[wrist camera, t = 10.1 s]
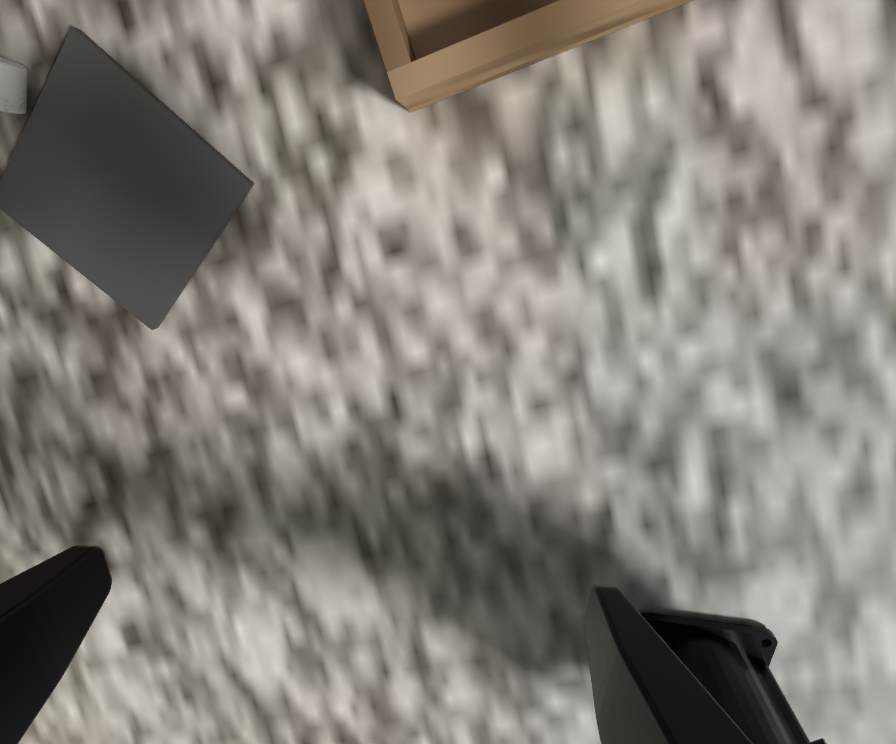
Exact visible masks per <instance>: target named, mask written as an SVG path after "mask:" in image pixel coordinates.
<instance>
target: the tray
mask: <svg viewBox="0 0 896 744" xmlns="http://www.w3.org/2000/svg"><path fill="white" fill-rule="evenodd" d="M690 1H693V0H364V3H365V6H366V9H367V12H368V15H369V19H370V22H371V25H372V28H373V31H374V34H375V37H376V40H377V43H378V46H379V49H380V53H381V56H382V59H383V62H384V65H385V68H386V71H387V74H388V77H389V80H390V84H391V87H392V90H393V93H394V96H395V99H396V100H397V101H398V102H399V103H400V104H401V105H402V106H404V107H405V108H406V109H407V110H408V111H409V112H413V111H415V110H418V109H421V108H423V107H426V106H428V105H431V104H433V103H436V102H438V101H441V100H443V99H446V98H448V97H451V96H453V95H456V94H458V93H461V92H463V91H466V90H468V89H471V88H473V87H476V86H479V85H481V84H484V83H486V82H489V81H491V80H494V79H496V78H499V77H501V76H504V75H506V74H509V73H511V72H514V71H516V70H519V69H521V68H524V67H526V66H529V65H531V64H534V63H537V62H539V61H542V60H544V59H547V58H549V57H552V56H554V55H557V54H559V53H562V52H564V51H567V50H569V49H572V48H574V47H577V46H579V45H582V44H584V43H587V42H589V41H592V40H595V39H597V38H600V37H602V36H605V35H607V34H610V33H612V32H615V31H617V30H620V29H622V28H625V27H627V26H630V25H632V24H635V23H637V22H640V21H642V20H645V19H647V18H650V17H653V16H655V15H658V14H660V13H663V12H665V11H668V10H670V9H673V8H675V7H678V6H680V5H683V4H685V3H688V2H690Z"/></svg>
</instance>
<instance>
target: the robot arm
mask: <svg viewBox="0 0 896 744" xmlns="http://www.w3.org/2000/svg"><path fill="white" fill-rule="evenodd" d="M111 585H112V578H111V574H110V571H109V567H108V564H107V561H106V557H105V554H104V551H103V550H102V549H101V548H100V547H98V546H89V545H76V546H73V547H71V548H69V549H67V550H65V551H63V552H61V553H59V554H57V555H55V556H53V557H51V558H50V559H48V560H46V561H44V562H42V563H40V564H38V565H36V566H34V567H32V568H30V569H28V570H26V571H24V572H22V573H20V574H19V575H17V576H15V577H13V578H11V579H9V580H7V581H5V582H3V583H1V584H0V744H18V743H19V741H20V740H21V738H22V737H23V735H24V734H25V732H26V731H27V729H28V728H29V726H30V725H31V723H32V722H33V720H34V719H35V717H36V716H37V714H38V713H39V711H40V710H41V708H42V707H43V705H44V704H45V702H46V701H47V699H48V698H49V696H50V695H51V693H52V692H53V690H54V689H55V687H56V686H57V684H58V683H59V681H60V679H61V678H62V676H63V675H64V673H65V671H66V669H67V668H68V666H69V664H70V663H71V661H72V659H73V657H74V655H75V654H76V652H77V650H78V648H79V646H80V645H81V643H82V641H83V639H84V637H85V636H86V634H87V632H88V630H89V628H90V627H91V625H92V623H93V621H94V619H95V617H96V616H97V614H98V612H99V610H100V608H101V607H102V605H103V603H104V601H105V599H106V598H107V596H108V594H109V592H110V589H111ZM585 634H586V642H587V650H588V658H589V666H590V674H591V681H592V689H593V697H594V705H595V712H596V719H597V725H598V730H599V735H600V740H601V744H827V743H826V742H825V740H824V739H823V738H821V739H819V740H816V741H813V742H810V741H809V739H808V737H807V736H806V734H805V732H804V730H803V728H802V727H801V725H800V723H799V721H798V719H797V718H796V716H795V714H794V712H793V710H792V709H791V707H790V705H789V703H788V701H787V700H786V698H785V696H784V694H783V692H782V691H781V689H780V687H779V685H778V683H777V682H776V680H775V678H774V676H773V674H772V672H771V671H770V669H769V664H770V662H771V659H772V657H773V654H774V651H775V649H776V646H777V640H776V638H775V636H774V635H773V633H772V632H771V631H770V630H769V629H765V628H758V627H750V626H743V625H735V624H728V623H720V622H712V621H705V620H697V619H690V618H682V617H674V616H667V615H659V614H652V613H641V614H640V613H639V612H638V610H637V609H636V608H635V607H634V606H633V605H632V604H631V602H630V601H629V600H628V599H627V598H626V597H625V595H624V594H623V593H622V592H621V591H620V590H619V589H618V588H617V587H614V586H604V585H595V586H593V588H592V590H591V594H590V598H589V603H588V607H587V611H586V616H585ZM764 639H765V640H764Z"/></svg>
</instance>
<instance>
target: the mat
mask: <svg viewBox="0 0 896 744" xmlns="http://www.w3.org/2000/svg"><path fill="white" fill-rule="evenodd" d="M253 185H254V183H253V182H252V181H251V180H250V179H248V178H247V177H246V176H245V175H244V174H243V173H242V172H241V171H239V170H238V169H237V168H236V167H235V166H234V165H233V164H231V163H230V162H229V161H228V160H227V159H226V158H225V157H224V156H222V155H221V154H220V153H219V152H218V151H217V150H216V149H215V148H213V147H212V146H211V145H210V144H209V143H208V142H207V141H205V140H204V139H203V138H202V137H201V136H200V135H199V134H198V133H196V132H195V131H194V130H193V129H192V128H191V127H190V126H189V125H187V124H186V123H185V122H184V121H183V120H182V119H181V118H180V117H178V116H177V115H176V114H175V113H174V112H173V111H172V110H170V109H169V108H168V107H167V106H166V105H165V104H164V103H163V102H161V101H160V100H159V99H158V98H157V97H156V96H155V95H154V94H152V93H151V92H150V91H149V90H148V89H147V88H146V87H144V86H143V85H142V84H141V83H140V82H139V81H138V80H137V79H135V78H134V77H133V76H132V75H131V74H130V73H129V72H128V71H126V70H125V69H124V68H123V67H122V66H121V65H120V64H118V63H117V62H116V61H115V60H114V59H113V58H112V57H111V56H109V55H108V54H107V53H106V52H105V51H104V50H103V49H102V48H100V47H99V46H98V45H97V44H96V43H95V42H94V41H92V40H91V39H90V38H89V37H88V36H87V35H86V34H85V33H83V32H82V31H81V30H79V29H77V28H74V27H71V29H70V31H69V33H68V35H67V38H66V40H65V42H64V44H63V46H62V48H61V51H60V53H59V55H58V57H57V59H56V61H55V64H54V66H53V68H52V70H51V72H50V74H49V76H48V79H47V81H46V83H45V85H44V87H43V89H42V92H41V94H40V96H39V98H38V100H37V102H36V105H35V107H34V109H33V111H32V113H31V115H30V118H29V120H28V122H27V124H26V126H25V128H24V131H23V133H22V135H21V137H20V139H19V141H18V143H17V146H16V148H15V150H14V152H13V154H12V156H11V159H10V161H9V163H8V165H7V167H6V169H5V172H4V174H3V176H2V178H1V180H0V209H1V210H2V211H4V212H5V213H6V214H7V215H9V216H10V217H11V218H12V219H14V220H15V221H16V222H17V223H19V224H20V225H21V226H22V227H24V228H25V229H26V230H27V231H29V232H30V233H31V234H32V235H34V236H35V237H36V238H37V239H39V240H40V241H41V242H42V243H44V244H45V245H46V246H47V247H49V248H50V249H51V250H52V251H54V252H55V253H56V254H57V255H59V256H60V257H61V258H62V259H64V260H65V261H66V262H67V263H69V264H70V265H71V266H72V267H74V268H75V269H76V270H77V271H79V272H80V273H81V274H82V275H84V276H85V277H86V278H87V279H89V280H90V281H91V282H92V283H94V284H95V285H96V286H97V287H99V288H100V289H101V290H102V291H104V292H105V293H106V294H107V295H109V296H110V297H111V298H112V299H114V300H115V301H116V302H117V303H119V304H120V305H121V306H122V307H124V308H125V309H126V310H127V311H129V312H130V313H131V314H132V315H134V316H135V317H136V318H137V319H139V320H140V321H141V322H142V323H144V324H145V325H146V326H147V327H149V328H150V329H151V330H153V329H156V328H158V327H159V325H160V324H161V322H162V321H163V319H164V318H165V316H166V315H167V313H168V312H169V310H170V309H171V307H172V306H173V304H174V303H175V301H176V300H177V298H178V297H179V295H180V294H181V292H182V291H183V289H184V288H185V286H186V285H187V283H188V282H189V280H190V279H191V277H192V276H193V274H194V273H195V271H196V270H197V268H198V267H199V266H200V264H201V263H202V261H203V260H204V258H205V257H206V255H207V254H208V252H209V251H210V249H211V248H212V246H213V245H214V243H215V242H216V240H217V239H218V237H219V236H220V234H221V233H222V231H223V230H224V228H225V227H226V225H227V224H228V222H229V221H230V219H231V218H232V216H233V215H234V213H235V212H236V210H237V209H238V207H239V206H240V204H241V203H242V201H243V200H244V198H245V197H246V195H247V194H248V192H249V191H250V189H251V188H252V186H253Z"/></svg>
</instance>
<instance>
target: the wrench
mask: <svg viewBox="0 0 896 744" xmlns="http://www.w3.org/2000/svg"><path fill="white" fill-rule="evenodd" d="M27 80H28V69H27V68H26V67H25V66H23V65H21V64H18V63H15V62H13V61H10V60H8V59H5V58H2V57H0V111H2V112H8V113H14V114H25V113H26V109H27Z"/></svg>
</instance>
